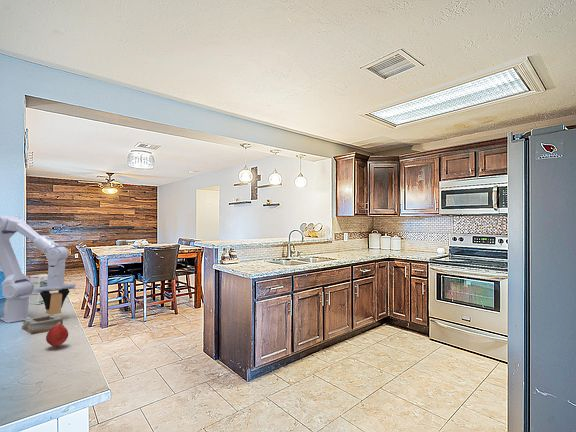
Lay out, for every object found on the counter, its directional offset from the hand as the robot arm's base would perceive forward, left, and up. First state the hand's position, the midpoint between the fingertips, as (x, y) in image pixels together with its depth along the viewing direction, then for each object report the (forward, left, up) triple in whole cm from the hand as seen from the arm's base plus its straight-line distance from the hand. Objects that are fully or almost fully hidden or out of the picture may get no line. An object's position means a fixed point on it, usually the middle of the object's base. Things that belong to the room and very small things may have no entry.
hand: (53, 308), depth 133 cm
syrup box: (-40, +7, -5) cm, 41 cm away
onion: (+36, -11, -5) cm, 38 cm away
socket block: (+10, -6, -5) cm, 13 cm away
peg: (0, 0, -2) cm, 2 cm away
